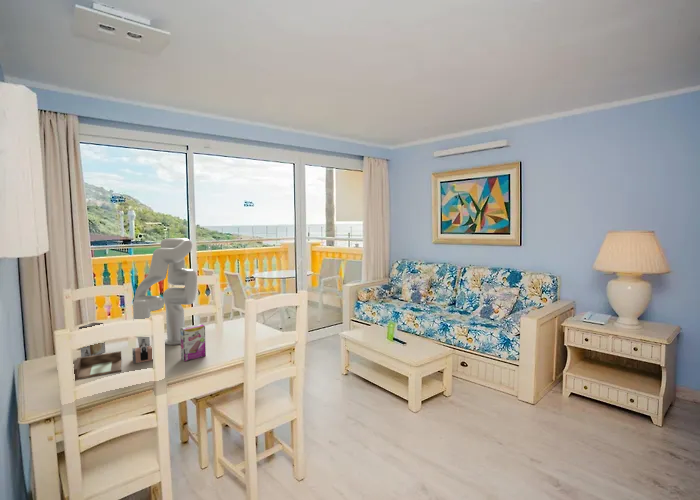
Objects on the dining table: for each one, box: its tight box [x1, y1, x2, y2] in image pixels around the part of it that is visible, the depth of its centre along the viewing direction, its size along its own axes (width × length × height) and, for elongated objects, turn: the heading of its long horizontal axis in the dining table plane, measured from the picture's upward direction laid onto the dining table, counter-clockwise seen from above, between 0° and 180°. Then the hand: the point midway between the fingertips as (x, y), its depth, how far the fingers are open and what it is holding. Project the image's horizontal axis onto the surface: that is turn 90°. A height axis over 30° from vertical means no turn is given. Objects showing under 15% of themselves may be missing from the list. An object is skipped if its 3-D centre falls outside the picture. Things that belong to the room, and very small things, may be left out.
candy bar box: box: [180, 323, 207, 362], centre depth 191 cm, size 11×5×16 cm, turn 134°
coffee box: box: [78, 322, 106, 358], centre depth 196 cm, size 9×6×16 cm
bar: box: [132, 345, 153, 364], centre depth 189 cm, size 10×5×6 cm, turn 120°
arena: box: [73, 350, 123, 381], centre depth 177 cm, size 18×16×5 cm
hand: (144, 356), depth 189 cm, fingers open, 8 cm apart
